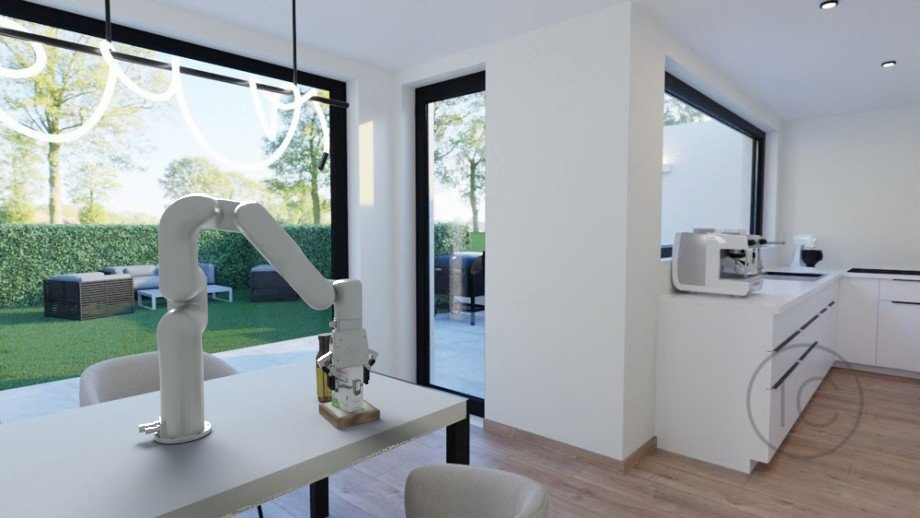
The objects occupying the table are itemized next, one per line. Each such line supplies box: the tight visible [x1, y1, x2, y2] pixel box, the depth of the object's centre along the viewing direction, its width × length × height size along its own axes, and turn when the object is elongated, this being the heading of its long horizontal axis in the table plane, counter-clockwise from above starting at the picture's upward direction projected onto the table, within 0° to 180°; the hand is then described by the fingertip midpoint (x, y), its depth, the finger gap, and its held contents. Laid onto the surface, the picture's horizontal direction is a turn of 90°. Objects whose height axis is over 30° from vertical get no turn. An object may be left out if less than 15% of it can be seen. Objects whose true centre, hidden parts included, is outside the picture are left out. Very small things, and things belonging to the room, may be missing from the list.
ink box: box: [331, 365, 364, 412], centre depth 138 cm, size 9×5×12 cm, turn 48°
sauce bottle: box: [315, 332, 332, 403], centre depth 152 cm, size 7×6×20 cm
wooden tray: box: [318, 398, 381, 430], centre depth 139 cm, size 12×14×3 cm
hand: (348, 386), depth 138 cm, fingers open, 9 cm apart
